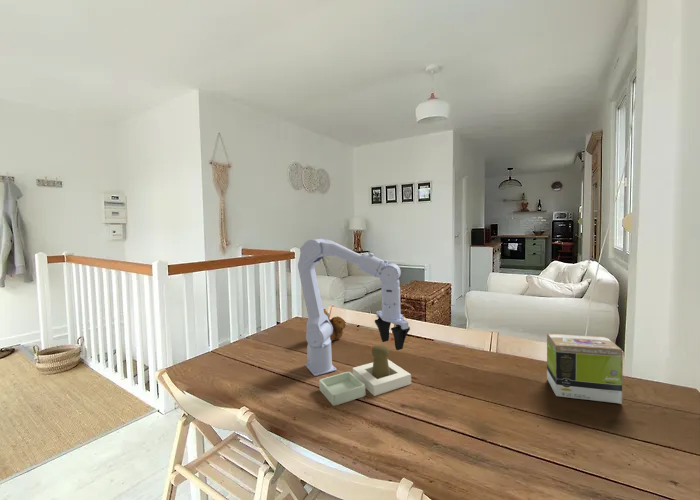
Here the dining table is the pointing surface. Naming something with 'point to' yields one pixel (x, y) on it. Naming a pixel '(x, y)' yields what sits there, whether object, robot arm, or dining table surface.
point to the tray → (342, 388)
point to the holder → (383, 384)
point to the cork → (380, 361)
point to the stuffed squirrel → (336, 326)
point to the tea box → (585, 367)
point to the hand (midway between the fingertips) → (392, 345)
